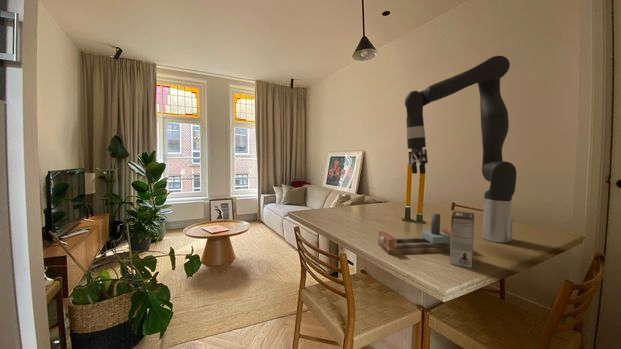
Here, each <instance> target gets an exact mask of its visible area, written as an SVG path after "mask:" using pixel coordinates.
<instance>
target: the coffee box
mask: <svg viewBox="0 0 621 349" xmlns="http://www.w3.org/2000/svg"><path fill="white" fill-rule="evenodd" d="M450 220H451V224H450V226H451V228H450V230H451V246H450V252H449V265H454V266H455V265H456V266H459V267H465V268H470V269H472V268H473V254H474V253H473V252H474V236H475V234H474V233H475V232H474V230H475V214H474V212H466V211H452V214H451V219H450Z"/></svg>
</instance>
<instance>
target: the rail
mask: <svg viewBox="0 0 621 349" xmlns="http://www.w3.org/2000/svg"><path fill="white" fill-rule="evenodd" d="M377 232H378V233H377V234H378V235H377V236H378V237H377V238H378V239H377V240H378V243H377V244H378V246H379V247H380V248H381V249H382V250H383V251H384V252H385V253H386V254H387V255H401V254H402V255H404V254H407V255H408V254H409V255H410V254H425V253H426V254H429V253H431V254H432V253H450V246H451V241H450V243H434V244H433V243H431V242H429V241H428V240H426V239H424V238H423V237H403V238H399V237H398V238H396V237H394V236H393V235H392V234H390V233H389V232H388V231H386V230H378V231H377ZM441 232H442V233H444V234H446V235H448V236H450V237H451V228H443V229H441Z"/></svg>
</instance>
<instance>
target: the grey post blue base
mask: <svg viewBox="0 0 621 349" xmlns="http://www.w3.org/2000/svg"><path fill="white" fill-rule="evenodd" d="M430 226H431V227H430V228H431V229H430V230H421V231H420V238H424V239H426V240H428V241H429V242H431V243H433V244H434V243H450V241H451V237H450V236H448V235H446V234H444V233H442V231H441V214H440V213H431V225H430Z"/></svg>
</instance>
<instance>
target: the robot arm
mask: <svg viewBox="0 0 621 349" xmlns="http://www.w3.org/2000/svg"><path fill="white" fill-rule="evenodd" d="M510 66H511V62H510V61H509V59H508V58H507V57H506V56H504V55H495V56H491V57H489V58H488V59H486V60H485V61H483V62H481V63H479V64H477V65H476V66H474V67H472V68H469V69H467V70H466V71H464V72H461V73H459V74H456V75H453V76H451V77H449V78H446V79H443V80H441V81H438V82H436V83H433V84H431V85H429V86H428V87H426V88H425V89H423V90H421V91H418V90H412V91H409V93H408V94H407V95H406V97H405V98H404V99H405V100H404V106H405V109H406V145H407V149H408V150H411V151H408V164H409V165H410V166H411V174H412V175H414V174H418V170H419V174H420V175H424V174H426V165H427V164H428V163H429V162H428V153H427V152H428V151H427V149H426V146H427V145H426V144H427V143H426V131H425V122H424V107H425V106H427V105H429V104H430V103H432V102H433V103H434V102H436V101H440V100H442V99H444V98H446V97H449V96H451V95H453V94H456V93H457V92H459V91H461V90H463V89H467V88H468V87H470V86H473V85H476V84H477V85H478V92H479V97H480V98H479V104H480V105H479V106H480V107H479V108H480V128H481V141H482V142H481V143H482V160H481V162H482V164H481V174H482V177H483V179H485V180H486V181H488V182H490V183H489V189H488V190H486V191H485V192H484V195H483V196H484V197H483V199H484V200H483V217H482V218H483V219H482V221H483V222H482V239H485V240H487V241H490V242H493V243H494V242H495V243H500V244H501V243H504V244H505V243H509V242H512V241H513V226H514V224H513V220H514V219H513V218H512V202H513V196H514V195H515V191H516V185H517V169H516V167H515V165H514V164H513V163H512V162H509V161H505V160H503V159H504V158H503V146H504V143H505V141H506V138H507V136H508V133H509V127H510V125H509V122H510V121H509V113H508V109H507V106H506V103H505V101H504V100H503V98H502V95H501V94H502V93H501V79H502V78H503V77H504V76H505V75H506V74H507V73H508V72H509V70H510ZM418 168H419V169H418Z"/></svg>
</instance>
